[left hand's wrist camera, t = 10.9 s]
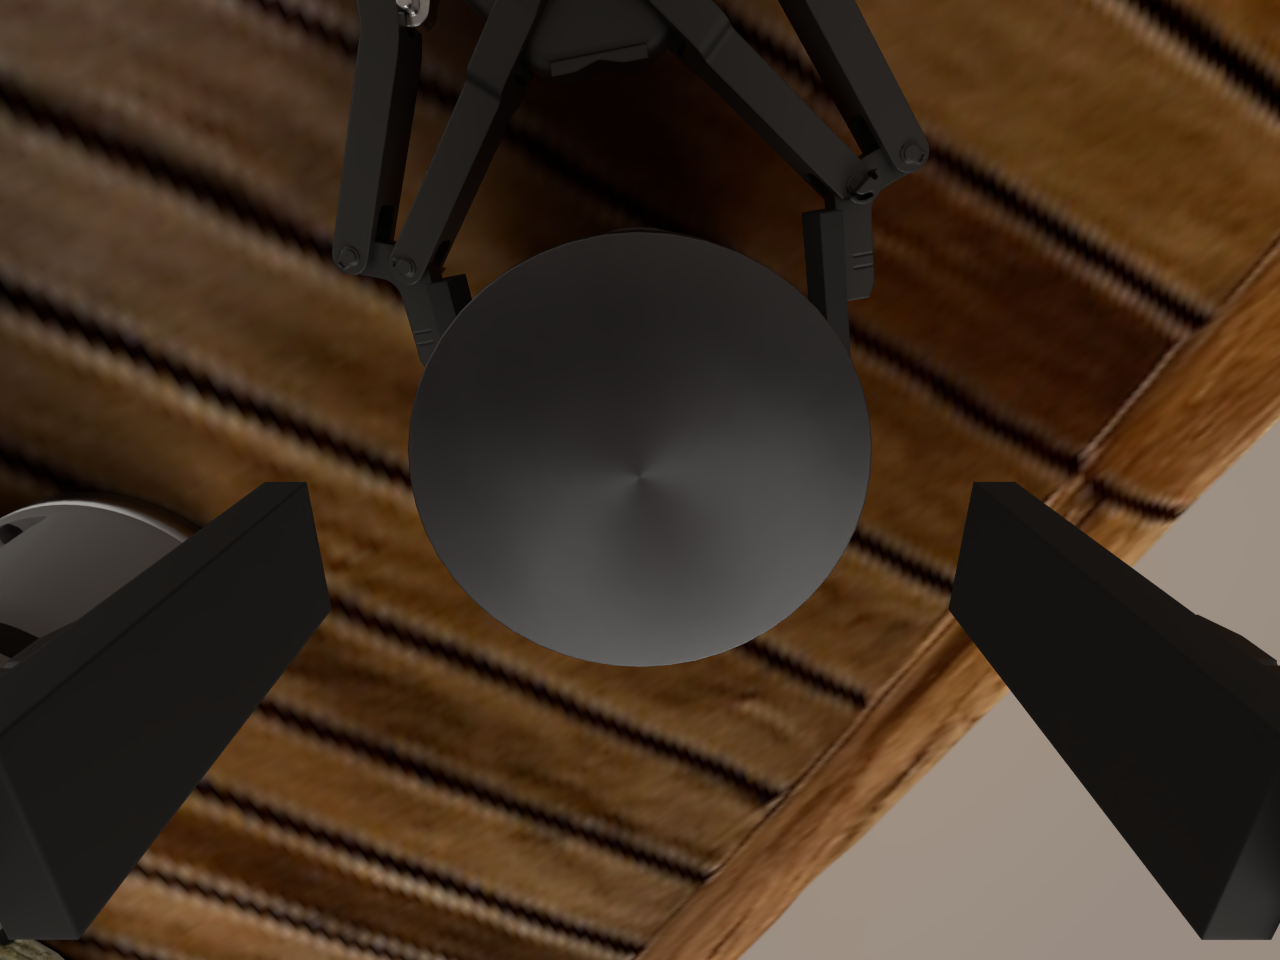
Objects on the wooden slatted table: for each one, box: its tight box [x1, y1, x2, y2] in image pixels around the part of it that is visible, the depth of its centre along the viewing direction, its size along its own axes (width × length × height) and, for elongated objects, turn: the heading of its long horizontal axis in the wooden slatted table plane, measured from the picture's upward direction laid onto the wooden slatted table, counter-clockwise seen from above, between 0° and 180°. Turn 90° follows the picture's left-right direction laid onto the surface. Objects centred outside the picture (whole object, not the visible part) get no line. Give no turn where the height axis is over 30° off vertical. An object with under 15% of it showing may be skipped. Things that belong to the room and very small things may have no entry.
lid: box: [408, 229, 872, 667], centre depth 17 cm, size 11×11×2 cm
